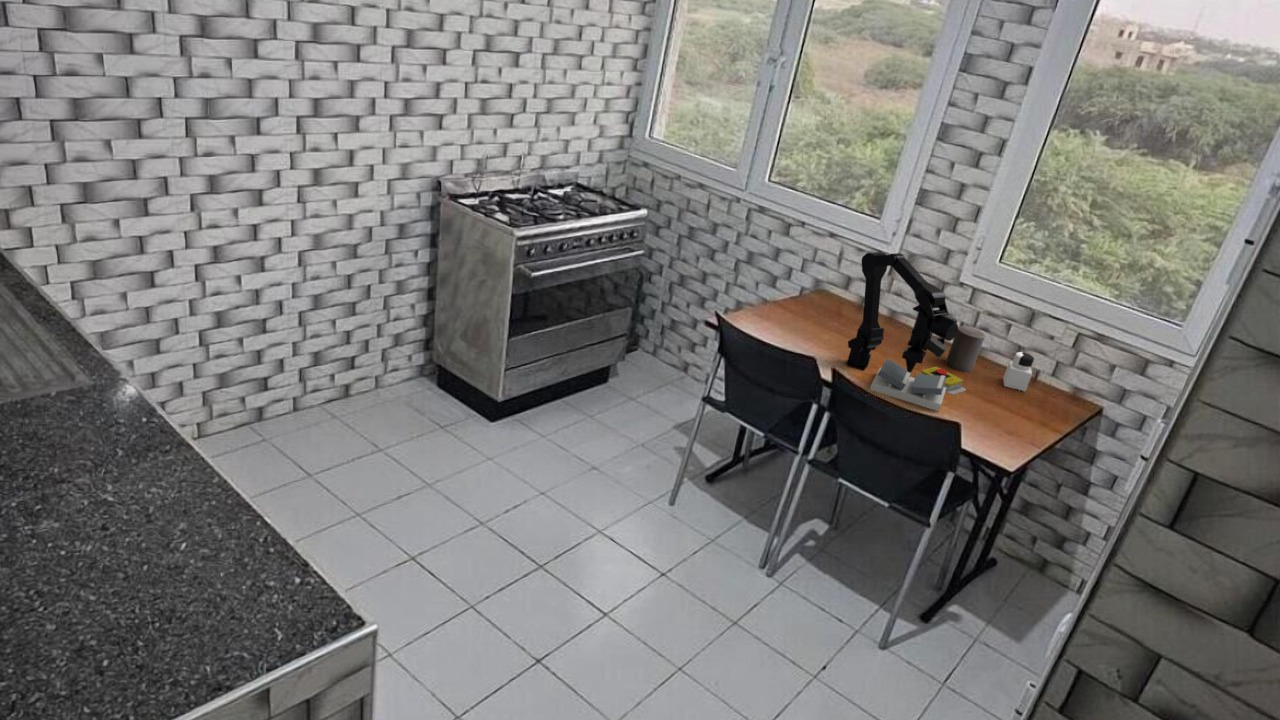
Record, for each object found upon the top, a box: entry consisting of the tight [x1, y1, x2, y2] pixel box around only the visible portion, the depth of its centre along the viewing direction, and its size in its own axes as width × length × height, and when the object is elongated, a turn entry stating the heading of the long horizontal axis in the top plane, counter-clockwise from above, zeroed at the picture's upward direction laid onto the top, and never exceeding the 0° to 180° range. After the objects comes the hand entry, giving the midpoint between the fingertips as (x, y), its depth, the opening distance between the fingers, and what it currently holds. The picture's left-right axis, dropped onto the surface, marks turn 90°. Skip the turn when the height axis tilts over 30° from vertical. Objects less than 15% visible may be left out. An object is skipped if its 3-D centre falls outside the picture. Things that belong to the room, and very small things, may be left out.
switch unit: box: [869, 367, 946, 412], centre depth 274 cm, size 22×15×4 cm
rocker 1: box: [877, 357, 912, 390], centre depth 273 cm, size 9×12×2 cm
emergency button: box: [920, 366, 967, 395], centre depth 286 cm, size 9×4×15 cm
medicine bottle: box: [1002, 351, 1035, 392], centre depth 292 cm, size 7×7×12 cm
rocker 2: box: [911, 373, 946, 395], centre depth 270 cm, size 9×12×2 cm
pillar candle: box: [945, 325, 986, 373], centre depth 300 cm, size 10×10×15 cm
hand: (909, 372), depth 271 cm, fingers closed
